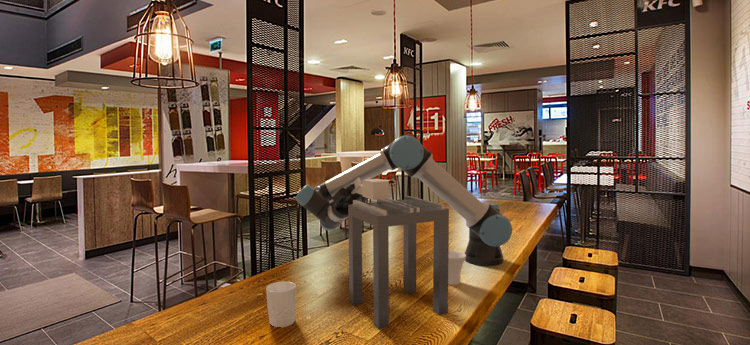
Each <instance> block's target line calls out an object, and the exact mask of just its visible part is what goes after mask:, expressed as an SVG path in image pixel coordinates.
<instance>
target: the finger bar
mask: <svg viewBox="0 0 750 345" xmlns="http://www.w3.org/2000/svg"><path fill="white" fill-rule="evenodd" d="M389 181H390V180H385V179H380V178H372V179H365V180H363V184H361V185H362V186H361V187H360V188H359V189H358V190H357V191H356V192H355V193H358V194H361V195H363V197H366V198H368V199H370V200H374V201H377V199H390V192H389V189H390V187H389V186H390V185H389V184H390V182H389Z"/></svg>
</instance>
